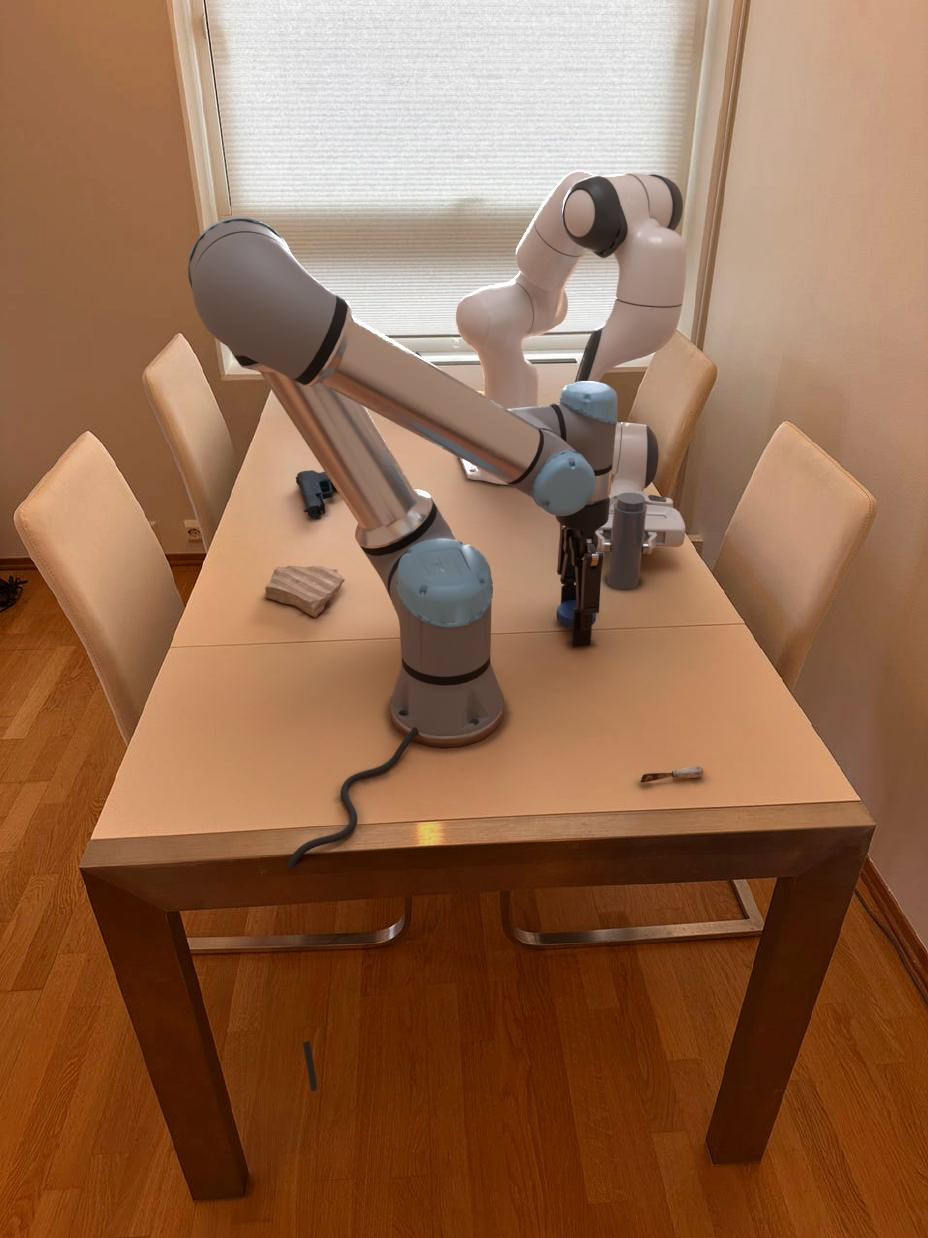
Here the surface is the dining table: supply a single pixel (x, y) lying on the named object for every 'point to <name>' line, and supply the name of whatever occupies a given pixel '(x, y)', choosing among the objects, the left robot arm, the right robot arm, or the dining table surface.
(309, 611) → the stone
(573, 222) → the right robot arm
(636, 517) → the grey tall cylinder
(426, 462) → the dining table surface
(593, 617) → the lid
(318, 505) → the handgun
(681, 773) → the putty knife
